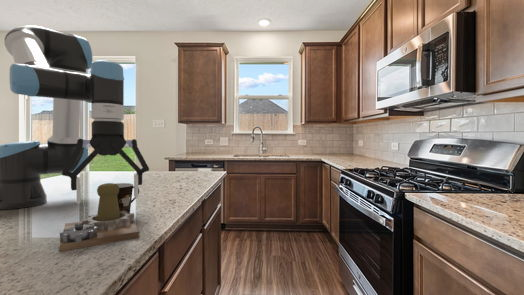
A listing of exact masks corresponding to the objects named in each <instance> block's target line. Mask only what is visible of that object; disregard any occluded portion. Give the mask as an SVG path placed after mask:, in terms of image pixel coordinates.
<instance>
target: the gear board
mask: <svg viewBox="0 0 524 295" xmlns="http://www.w3.org/2000/svg"><path fill="white" fill-rule="evenodd" d="M120 217H121V218H119V219H115V220H109V221H97V214H90V215H88V217H87V218H86V219H81V221H75V222H68V223H65V224H64V227H63V231H64V229H66V228H70V227H73V226H75V224H76V223H83V225H94V227H96V226H97V235H95V236H94V238H92V239H87V240H83V241H82V242H77V243H76V242H69V243H63V241H60V240H59V244H58V245H59V246H58V248H59V249H58V250H59V252H63V251H70V250H75V249H81V248H86V247H92V246H98V245H102V244H108V243H116V242H120V241H127V240H131V239H137V238H138V239H139V237H140V230H139V229H138V227H137V225H136V222H135V213H134V212H130V213H129V214H128V213H127V211H121V212H120Z"/></svg>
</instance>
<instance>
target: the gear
mask: <svg viewBox="0 0 524 295" xmlns="http://www.w3.org/2000/svg"><path fill="white" fill-rule="evenodd" d="M63 230H64V231H62V230H61V231H59V242H60V241H63V243H69V242H76V243H77V242H82V241H83V240H87V239H92V238H94V236H95V235H97V226H96V227H94V225H83V223H76V224H75V226H73V227H70V228H66V229H64V228H63Z"/></svg>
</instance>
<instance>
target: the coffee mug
mask: <svg viewBox="0 0 524 295" xmlns="http://www.w3.org/2000/svg"><path fill="white" fill-rule="evenodd" d="M115 184H117V185H118V186H119V193H118V194H117V199H118V205H119V211H120V212H121V211H127V213H128V214H129V213H131V206H132V204H133V202H134V201H135V200H136V199H137V198H135V197H133V192H134V183H128V182H124V183H123V182H117V183H115ZM139 194H140V188H139V187H138V195H139ZM132 197H133V198H132Z"/></svg>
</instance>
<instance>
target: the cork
mask: <svg viewBox="0 0 524 295" xmlns="http://www.w3.org/2000/svg"><path fill="white" fill-rule="evenodd" d="M96 191H97V192H96V193H97V196H99V199H98V200H99V201H98V206H97V214H96V215H97V221H109V220H115V219H119V218H121V217H120V211H119V205H118V199H117V194H118V193H119V186H118V185H117V184H116V183H114V182H113V183H112V182H111V183H110V182H109V183H107V182H106V183H103V184H100V185H99V186H97V189H96Z"/></svg>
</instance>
